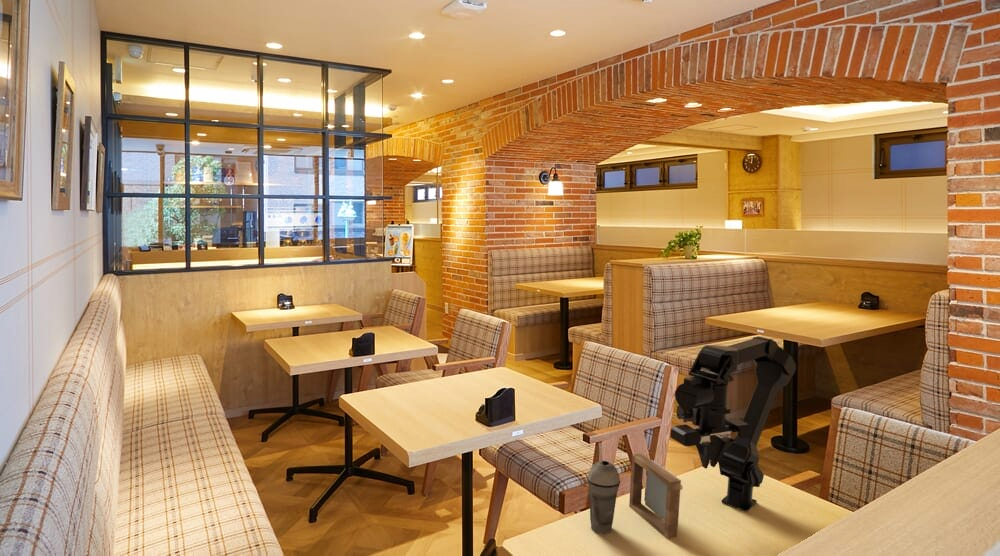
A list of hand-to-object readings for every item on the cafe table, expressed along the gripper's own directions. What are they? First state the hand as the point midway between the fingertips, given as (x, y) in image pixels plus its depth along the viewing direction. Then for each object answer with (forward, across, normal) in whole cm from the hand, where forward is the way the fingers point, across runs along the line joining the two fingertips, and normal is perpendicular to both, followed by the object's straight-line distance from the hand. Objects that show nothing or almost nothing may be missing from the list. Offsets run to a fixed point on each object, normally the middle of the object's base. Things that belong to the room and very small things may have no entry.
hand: (708, 467), depth 140 cm
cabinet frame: (+12, +13, -3) cm, 18 cm away
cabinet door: (+11, +10, -3) cm, 15 cm away
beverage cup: (+13, +26, -4) cm, 29 cm away
